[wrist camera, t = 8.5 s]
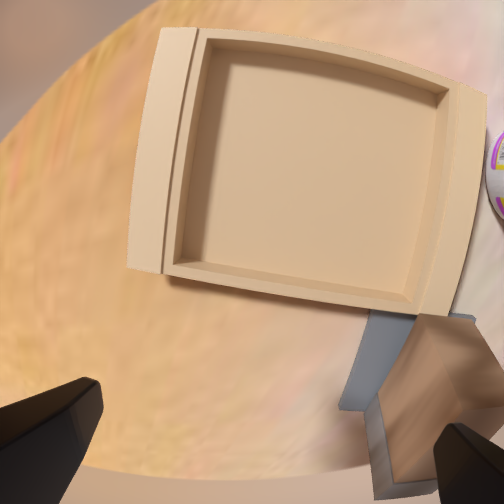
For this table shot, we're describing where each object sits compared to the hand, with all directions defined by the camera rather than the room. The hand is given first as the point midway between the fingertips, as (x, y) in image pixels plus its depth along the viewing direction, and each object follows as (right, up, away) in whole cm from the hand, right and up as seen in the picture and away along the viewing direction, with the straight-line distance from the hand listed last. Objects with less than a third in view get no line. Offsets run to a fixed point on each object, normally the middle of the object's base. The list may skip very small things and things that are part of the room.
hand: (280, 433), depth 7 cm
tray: (+3, +9, +10) cm, 14 cm away
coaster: (+10, -3, +13) cm, 16 cm away
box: (+10, -3, +11) cm, 15 cm away
